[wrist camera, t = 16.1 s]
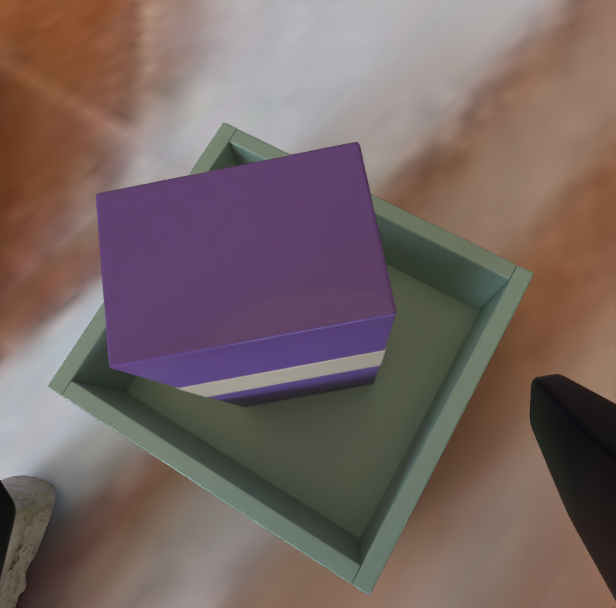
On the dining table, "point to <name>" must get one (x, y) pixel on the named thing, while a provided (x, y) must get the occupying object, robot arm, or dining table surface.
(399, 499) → the bin
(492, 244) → the dining table surface
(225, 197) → the purple tall block
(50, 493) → the cuneiform tablet
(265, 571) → the dining table surface
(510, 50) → the dining table surface
